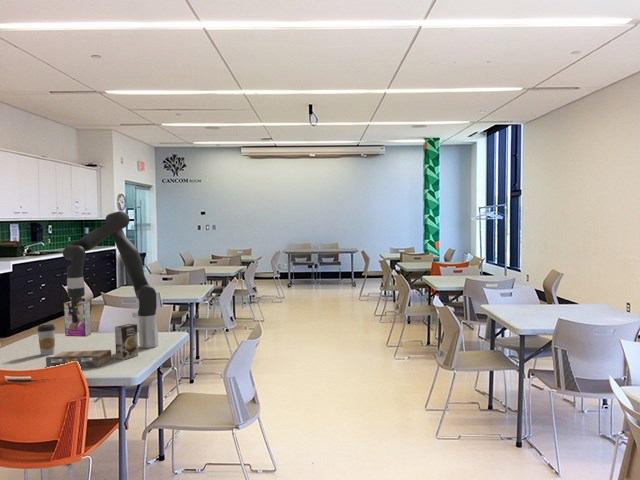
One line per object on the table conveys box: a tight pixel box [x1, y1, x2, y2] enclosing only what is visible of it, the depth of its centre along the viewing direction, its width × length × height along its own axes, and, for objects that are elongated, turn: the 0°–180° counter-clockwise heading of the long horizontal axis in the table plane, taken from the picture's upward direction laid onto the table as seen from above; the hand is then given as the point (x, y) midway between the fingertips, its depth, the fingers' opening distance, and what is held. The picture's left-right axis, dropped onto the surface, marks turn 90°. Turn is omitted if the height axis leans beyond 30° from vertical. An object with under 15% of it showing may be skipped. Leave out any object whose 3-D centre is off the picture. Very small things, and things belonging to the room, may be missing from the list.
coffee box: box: [114, 323, 139, 361], centre depth 269 cm, size 9×6×16 cm
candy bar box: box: [63, 300, 92, 338], centre depth 259 cm, size 11×5×16 cm, turn 79°
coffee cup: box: [37, 323, 56, 357], centre depth 281 cm, size 8×8×15 cm
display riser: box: [45, 349, 112, 369], centre depth 260 cm, size 24×18×6 cm
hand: (77, 321), depth 259 cm, fingers closed on candy bar box, 5 cm apart
